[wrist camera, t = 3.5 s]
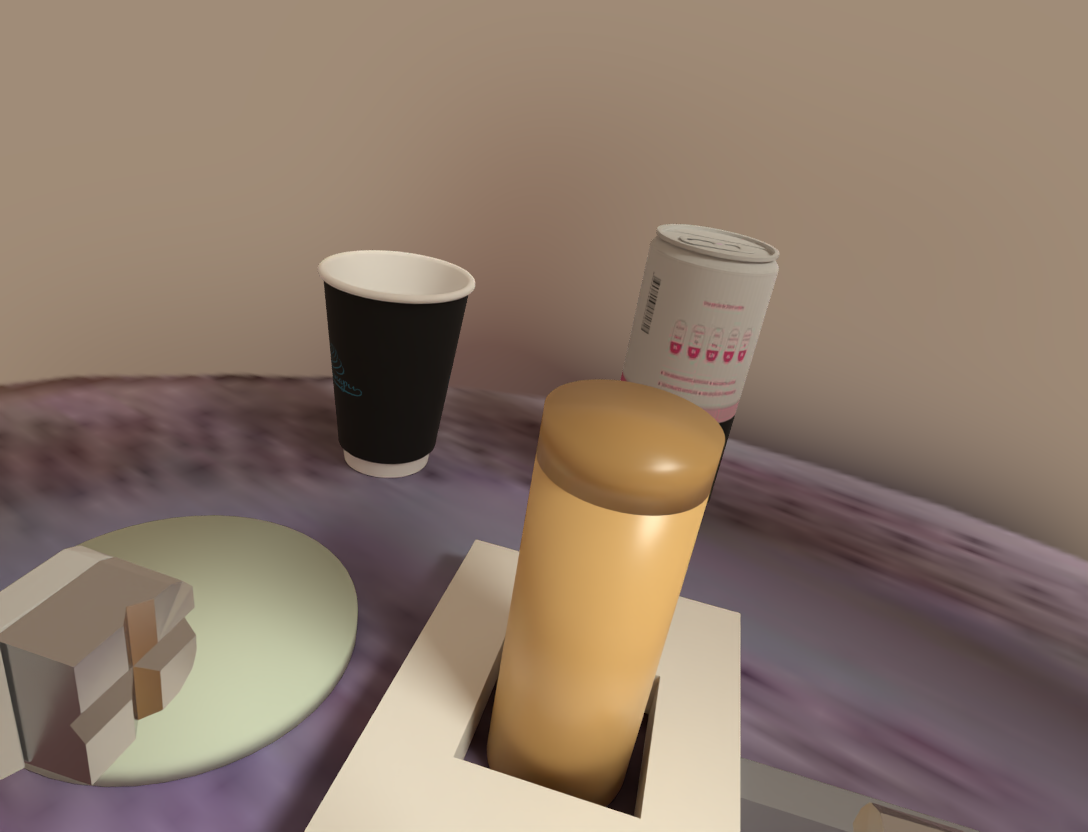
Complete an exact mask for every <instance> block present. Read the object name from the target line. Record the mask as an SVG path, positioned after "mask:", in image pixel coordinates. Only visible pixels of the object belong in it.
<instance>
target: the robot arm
mask: <svg viewBox="0 0 1088 832" xmlns="http://www.w3.org/2000/svg"><path fill="white" fill-rule="evenodd" d="M194 608H195V605H194V595H193V586H191V585H189V584H188V583H186V582H184V581H182V580H179V579H176V578H173V577H170V576H168V575H165V574H162V573H159V572H156V571H154V570H151V569H148V568H145V567H142V566H139V565H137V564H134V563H131V562H128V561H125V560H123V559H120V558H117V557H112V556H109V555H106V554H104V553H101V552H98V551H95V550H92V549H89V548H86V547H84V546H76V547H71V548H66V549H64V550H62V551H61V552H59V553H58V554H56V555H55V556H53V557H52V558H50V559H49V560H47V561H46V562H44V563H43V564H41V565H40V566H38V567H37V568H35V569H34V570H32V571H31V572H29V573H28V574H26V575H24V576H23V577H21V578H20V579H18V580H17V581H15V582H14V583H12V584H11V585H9V586H8V587H6V588H5V589H3V590H2V591H0V780H1V779H3V778H5V777H7V776H9V775H11V774H13V773H15V772H17V771H19V770H21V769H23V768H24V767H25V763H27V764H30V765H33V766H36V767H39V768H42V769H45V770H48V771H51V772H53V773H56V774H59V775H62V776H65V777H68V778H71V779H74V780H77V781H80V782H83V783H86V784H89V785H93V784H94V783H95V782H96V781H97V779H98V778H99V777H100V776H101V775H102V774H103V773H104V772H105V771H106V770H107V769H108V768H109V767H110V766H111V765H112V764H113V763H114V761H115V760H116V759H117V758H118V757H119V756H120V755H121V754H122V753H123V752H124V751H125V750H126V749H127V748H128V747H129V746H130V745H131V744H132V742H133V741H134V740H135V739H136V733H137V725H138V720H140V719H142V718H145V717H147V716H149V715H152V714H154V713H157V712H159V711H162V710H163V709H164V708H165V707H166V706H167V705H168V704H169V703H170V702H171V701H172V699H173V698H174V697H175V696H176V695H177V694H178V693H179V692H180V690H181V688H182V687H183V685H184V683H185V681H186V679H187V677H188V676H189V674H190V672H191V670H192V668H193V664H194V660H195V655H196V651H197V645H196V634H195V632H194V631H193V629H192V628H191V626H190V625H189V623H188V622H187V620H186V619H185V616H186V615H187V614H188V613H189V612H190V611H192V610H193V609H194ZM853 830H854V832H964V831H962V830H959V829H956V828H953V827H949V826H946V825H943V824H940V823H936V822H933V821H930V820H927V819H924V818H920V817H917V816H914V815H911V814H908V813H904V812H901V811H898V810H895V809H891V808H888V807H885V806H882V805H879V804H875V803H872V802H869V803H868V804H866V805H865V806H864V807H862V808H861V809H860V811H859V813H858V815H857V816H856V818H855V820H854V822H853Z"/></svg>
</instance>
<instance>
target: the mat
mask: <svg viewBox="0 0 1088 832" xmlns="http://www.w3.org/2000/svg"><path fill="white" fill-rule="evenodd" d="M77 546H84V547H86V548H89V549H92V550H95V551H98V552H101V553H104V554H106V555H109V556H112V557H117V558H120V559H123V560H125V561H128V562H131V563H134V564H137V565H139V566H142V567H145V568H148V569H151V570H154V571H156V572H159V573H162V574H165V575H168V576H170V577H173V578H176V579H179V580H182V581H184V582H186V583H188V584H189V585H191V586H193V595H194V605H195V608H194V609H193V610H192V611H190V612H189V613H188V614H187V615H186V616H185V619H186V620H187V622H188V623H189V625H190V626H191V628H192V629H193V631H194V632H195V634H196V645H197V651H196V655H195V660H194V664H193V668H192V670H191V672H190V674H189V676H188V677H187V679H186V681H185V683H184V685H183V687H182V688H181V690H180V692H179V693H178V694H177V695H176V696H175V697H174V698H173V699H172V701H171V702H170V703H169V704H168V705H167V706H166V707H165V708H164V709H163V710H162V711H159V712H157V713H154V714H152V715H149V716H147V717H145V718H142V719H140V720H138V725H137V733H136V739H135V740H134V741H133V742H132V744H131V745H130V746H129V747H128V748H127V749H126V750H125V751H124V752H123V753H122V754H121V755H120V756H119V757H118V758H117V759H116V760H115V761H114V763H113V764H112V765H111V766H110V767H109V768H108V769H107V770H106V771H105V772H104V773H103V774H102V775H101V776H100V777H99V778H98V779H97V781H96V782H95V783H94V784H93V785H91V786H101V787H120V786H141V785H149V784H157V783H165V782H169V781H174V780H178V779H183V778H187V777H192V776H196V775H199V774H202V773H205V772H208V771H211V770H214V769H217V768H220V767H223V766H226V765H228V764H231V763H233V762H235V761H237V760H240V759H242V758H244V757H247V756H249V755H251V754H253V753H255V752H257V751H258V750H260V749H262V748H264V747H266V746H267V745H269V744H271V743H273V742H275V741H276V740H278V739H279V738H281V737H282V736H283V735H285V734H286V733H288V732H289V731H291V730H292V729H294V728H295V727H296V726H298V725H299V724H300V723H301V722H302V721H303V720H305V719H306V718H307V717H308V716H309V715H310V714H312V713H313V712H314V711H315V710H316V709H317V708H318V707H319V706H320V705H321V703H322V702H323V701H324V700H325V699H326V698H327V697H328V696H329V695H330V693H331V692H332V691H333V689H334V688H335V686H336V685H337V683H338V682H339V681H340V679H341V678H342V676H343V674H344V672H345V670H346V668H347V666H348V664H349V662H350V659H351V656H352V653H353V650H354V646H355V640H356V633H357V617H358V606H357V595H356V591H355V588H354V584H353V582H352V580H351V578H350V576H349V573H348V571H347V570H346V569H345V567H344V566H343V565H342V563H341V562H340V560H339V559H338V558H337V557H336V556H335V555H334V554H333V553H331V552H330V551H329V550H328V549H327V548H326V547H324V546H323V545H321V544H320V543H319V542H317V541H316V540H314V539H312V538H310V537H308V536H307V535H305V534H303V533H300V532H298V531H296V530H293V529H291V528H288V527H285V526H282V525H279V524H275V523H272V522H267V521H262V520H258V519H252V518H244V517H236V516H217V515H211V516H188V517H177V518H169V519H163V520H157V521H151V522H147V523H142V524H138V525H133V526H129V527H126V528H123V529H119V530H116V531H113V532H109V533H107V534H104V535H101V536H99V537H96V538H93V539H91V540H88V541H86V542H83V543H81V544H79V545H77ZM75 547H76V546H75ZM24 768H25V769H27V770H30V771H32V772H35V773H37V774H40V775H43V776H45V777H48V778H51V779H56V780H60V781H64V782H69V783H73V784H80V785H89V784H86V783H83V782H80V781H77V780H74V779H71V778H68V777H65V776H62V775H59V774H56V773H53V772H51V771H48V770H45V769H42V768H39V767H36V766H33V765H30V764H27V763H25V767H24Z"/></svg>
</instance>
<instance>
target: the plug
mask: <svg viewBox="0 0 1088 832" xmlns="http://www.w3.org/2000/svg"><path fill="white" fill-rule="evenodd" d="M724 443H725V434H724V432H723V429H722V428H721V426H720V425H719V423H718V422H717V421H716V420H715V419H714V418H713V417H712V416H711V415H710V414H709V413H707V412H706V411H705V410H703V409H702V408H700V407H699V406H697V405H695V404H694V403H692V402H690V401H688V400H686V399H684V398H682V397H680V396H677V395H675V394H672V393H670V392H667V391H664V390H661V389H658V388H654V387H651V386H647V385H643V384H638V383H633V382H626V381H617V380H605V379H597V380H582V381H576V382H571V383H567V384H564V385H562V386H560V387H558V388H556V389H554V390H553V391H552V392H550V393H549V395H548V396H547V398H546V400H545V404H544V410H543V415H542V421H541V427H540V433H539V439H538V445H537V451H536V457H535V463H534V469H533V475H532V481H531V486H530V492H529V498H528V504H527V510H526V516H525V522H524V528H523V534H522V540H521V546H520V552H519V557H518V563H517V569H516V575H515V581H514V587H513V593H512V599H511V605H510V611H509V617H508V622H507V628H506V634H505V640H504V646H503V652H502V658H501V664H500V670H499V676H498V682H497V688H496V693H495V699H494V705H493V711H492V717H491V723H490V729H489V735H488V741H487V759H488V764H489V767H490V769H491V770H494V771H497V772H500V773H503V774H506V775H509V776H512V777H515V778H518V779H521V780H524V781H527V782H531V783H534V784H537V785H540V786H543V787H546V788H549V789H552V790H555V791H558V792H561V793H564V794H567V795H570V796H573V797H576V798H579V799H582V800H585V801H588V802H591V803H594V804H597V805H600V806H603V807H606V806H607V805H609V804H610V803H611V802H612V801H613V799H614V798H615V797H616V796H617V794H618V793H619V791H620V789H621V787H622V784H623V782H624V778H625V775H626V772H627V768H628V765H629V762H630V758H631V755H632V752H633V748H634V745H635V742H636V738H637V735H638V732H639V728H640V725H641V722H642V718H643V715H644V712H645V708H646V705H647V702H648V698H649V695H650V691H651V688H652V685H653V681H654V678H655V675H656V671H657V668H658V665H659V661H660V658H661V655H662V651H663V648H664V645H665V641H666V638H667V635H668V631H669V628H670V625H671V621H672V618H673V615H674V611H675V608H676V604H677V601H678V598H679V594H680V591H681V588H682V584H683V581H684V578H685V574H686V571H687V568H688V564H689V561H690V558H691V554H692V551H693V548H694V544H695V541H696V538H697V534H698V531H699V528H700V524H701V521H702V518H703V514H704V511H705V507H706V504H707V501H708V497H709V494H710V491H711V487H712V484H713V481H714V477H715V474H716V471H717V467H718V464H719V461H720V457H721V454H722V451H723V447H724Z"/></svg>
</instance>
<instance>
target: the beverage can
mask: <svg viewBox="0 0 1088 832" xmlns="http://www.w3.org/2000/svg"><path fill="white" fill-rule="evenodd" d="M656 233H657V235H658V236H657V237H655V238H654V239H653V240H652V241H651V243H650V248H649V253H648V257H647V262H646V266H645V271H644V276H643V280H642V285H641V289H640V294H639V298H638V303H637V308H636V313H635V317H634V322H633V327H632V331H631V335H630V340H629V344H628V349H627V354H626V358H625V363H624V368H623V372H622V377H621V381H626V382H633V383H638V384H643V385H647V386H651V387H654V388H658V389H661V390H664V391H667V392H670V393H672V394H675V395H677V396H680V397H682V398H684V399H686V400H688V401H690V402H692V403H694V404H695V405H697V406H699V407H700V408H702V409H703V410H705V411H706V412H707V413H709V414H710V415H711V416H712V417H713V418H714V419H715V420H716V421H717V422H718V423H719V425H720V426H721V428H722V429H723V432H724V434H725V443H724V447H723V451H722V454H721V457H720V461H719V464H718V467H717V471H716V474H715V477H714V481H713V484H712V487H711V491H710V494H709V497H708V501H707V503H708V502H709V500H710V496H711V493H712V490H713V486H714V483H715V480H716V476H717V473H718V470H719V466H720V463H721V460H722V456H723V453H724V450H725V446H726V443H727V440H728V436H729V433H730V430H731V426H732V423H733V419H734V416H735V413H736V410H737V406H738V403H739V399H740V396H741V393H742V389H743V386H744V383H745V380H746V376H747V373H748V370H749V366H750V363H751V360H752V356H753V353H754V350H755V346H756V343H757V340H758V337H759V333H760V330H761V327H762V323H763V320H764V317H765V313H766V310H767V307H768V303H769V300H770V297H771V293H772V290H773V286H774V283H775V280H776V276H777V273H778V270H779V267H778V265H777V262H776V259H778V257H779V251H778V250H777V249H776V248H775V247H773V246H771V245H769V244H767V243H765V242H762V241H760V240H757V239H754V238H751V237H748V236H745V235H741V234H737V233H733V232H729V231H725V230H720V229H715V228H709V227H703V226H695V225H685V224H667V225H662V226H659V227H658V228H657V232H656ZM706 505H707V504H706Z"/></svg>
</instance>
